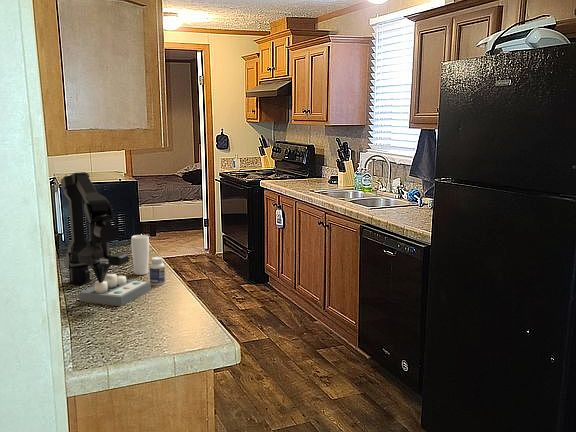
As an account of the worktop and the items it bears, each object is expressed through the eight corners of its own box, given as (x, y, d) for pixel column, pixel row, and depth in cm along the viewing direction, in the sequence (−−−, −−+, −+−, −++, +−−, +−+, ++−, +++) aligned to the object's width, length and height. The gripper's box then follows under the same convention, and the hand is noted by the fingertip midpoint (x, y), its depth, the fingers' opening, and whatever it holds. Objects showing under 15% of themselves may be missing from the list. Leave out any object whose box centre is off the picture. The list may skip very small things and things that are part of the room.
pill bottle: (161, 286, 197) (160, 260, 196) (147, 285, 198) (146, 259, 197) (167, 282, 203) (166, 256, 201) (153, 281, 204) (153, 256, 202)
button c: (112, 288, 190) (112, 278, 190) (119, 285, 194) (118, 275, 194) (122, 289, 189) (121, 279, 189) (128, 286, 193) (128, 276, 192)
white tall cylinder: (128, 274, 212) (127, 237, 209) (139, 270, 218) (138, 234, 215) (143, 276, 209) (141, 238, 207) (153, 272, 215) (152, 235, 213)
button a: (92, 294, 180) (92, 283, 179) (100, 291, 184) (99, 280, 183) (102, 295, 179) (102, 284, 178) (110, 292, 182) (109, 281, 182)
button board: (79, 301, 180) (79, 291, 179) (112, 286, 197) (111, 277, 196) (121, 306, 175) (121, 296, 175) (150, 290, 192) (150, 281, 192)
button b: (102, 287, 185) (102, 276, 184) (109, 283, 189) (109, 273, 188) (112, 288, 184) (112, 277, 183) (119, 284, 187) (119, 274, 187)
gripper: (58, 239, 173) (60, 286, 176) (108, 243, 168) (110, 292, 170) (80, 233, 183) (83, 277, 186) (128, 237, 178) (130, 282, 181)
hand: (100, 282), depth 181 cm, fingers closed, pressing on button a
